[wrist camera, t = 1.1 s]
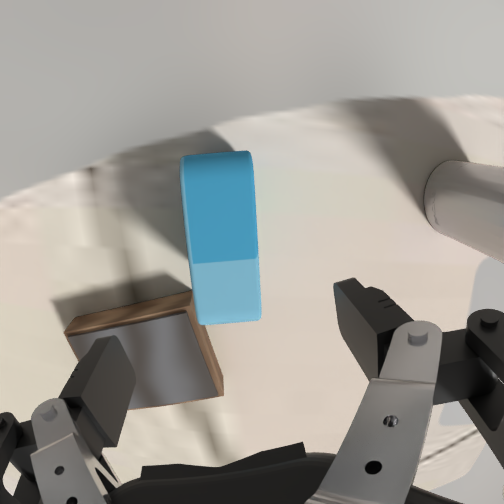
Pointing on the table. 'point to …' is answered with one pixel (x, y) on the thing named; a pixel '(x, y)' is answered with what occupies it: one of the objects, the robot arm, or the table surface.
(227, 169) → the blue rectangular block
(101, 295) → the table surface
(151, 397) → the stand
